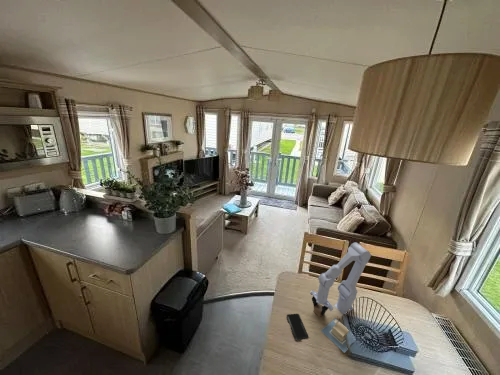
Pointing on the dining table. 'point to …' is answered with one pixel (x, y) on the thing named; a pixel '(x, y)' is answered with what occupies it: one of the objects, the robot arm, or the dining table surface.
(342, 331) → the maple base block
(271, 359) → the dining table surface
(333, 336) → the board
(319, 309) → the walnut block
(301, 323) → the phone
